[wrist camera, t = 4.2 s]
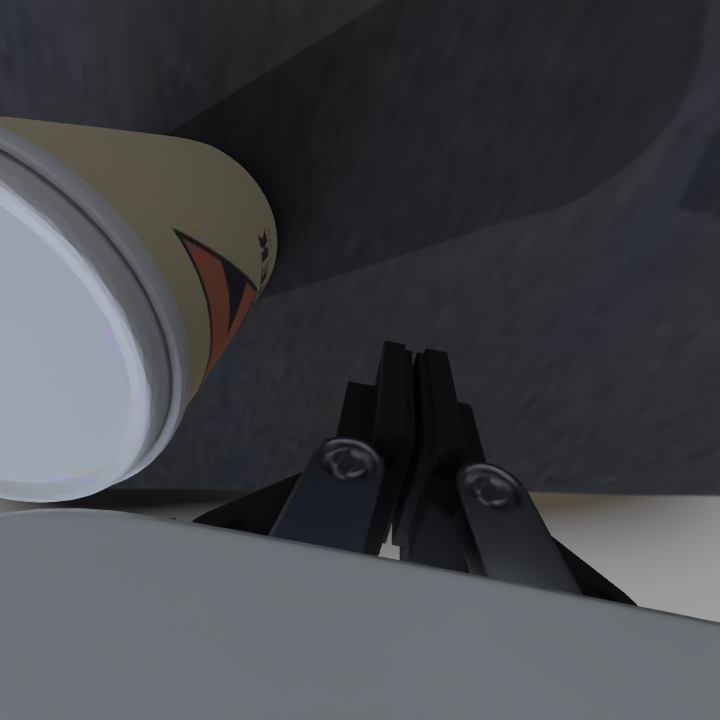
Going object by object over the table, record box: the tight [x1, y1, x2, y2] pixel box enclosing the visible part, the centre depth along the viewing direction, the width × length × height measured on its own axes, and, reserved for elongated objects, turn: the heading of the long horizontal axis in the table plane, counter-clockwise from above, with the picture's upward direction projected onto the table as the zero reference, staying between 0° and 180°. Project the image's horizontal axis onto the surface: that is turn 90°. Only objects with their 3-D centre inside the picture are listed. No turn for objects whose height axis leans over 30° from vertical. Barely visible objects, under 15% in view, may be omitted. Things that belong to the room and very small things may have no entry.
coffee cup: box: [0, 117, 277, 502], centre depth 14 cm, size 9×9×12 cm
